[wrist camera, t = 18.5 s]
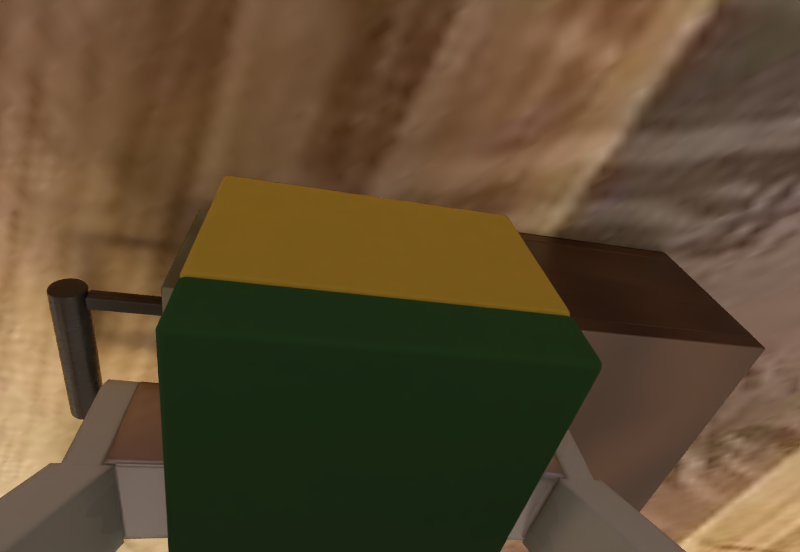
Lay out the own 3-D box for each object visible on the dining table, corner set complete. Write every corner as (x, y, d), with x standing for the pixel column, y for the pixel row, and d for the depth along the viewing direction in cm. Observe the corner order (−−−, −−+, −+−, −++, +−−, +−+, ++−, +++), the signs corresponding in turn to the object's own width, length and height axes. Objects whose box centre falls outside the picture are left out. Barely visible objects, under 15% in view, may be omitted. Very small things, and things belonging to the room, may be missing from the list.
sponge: (223, 173, 8) (152, 328, 5) (508, 214, 9) (608, 366, 6) (216, 466, 12) (173, 662, 9) (417, 472, 13) (447, 650, 10)
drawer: (107, 380, 28) (56, 480, 23) (81, 193, 22) (4, 271, 17) (426, 400, 32) (444, 490, 27) (476, 244, 26) (512, 322, 21)
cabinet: (372, 393, 32) (383, 512, 26) (415, 218, 26) (444, 316, 19) (579, 406, 35) (636, 516, 29) (665, 252, 29) (766, 348, 22)
